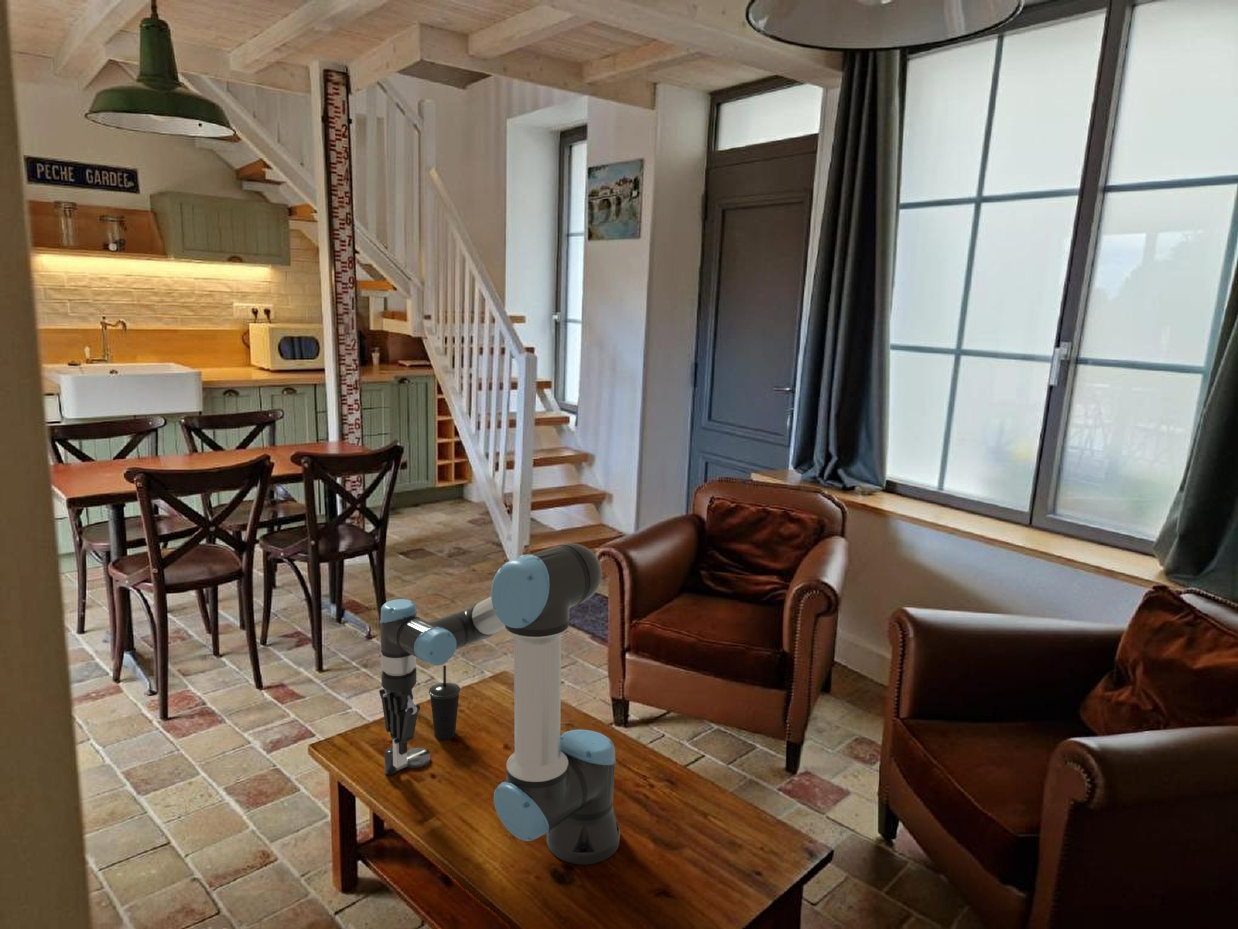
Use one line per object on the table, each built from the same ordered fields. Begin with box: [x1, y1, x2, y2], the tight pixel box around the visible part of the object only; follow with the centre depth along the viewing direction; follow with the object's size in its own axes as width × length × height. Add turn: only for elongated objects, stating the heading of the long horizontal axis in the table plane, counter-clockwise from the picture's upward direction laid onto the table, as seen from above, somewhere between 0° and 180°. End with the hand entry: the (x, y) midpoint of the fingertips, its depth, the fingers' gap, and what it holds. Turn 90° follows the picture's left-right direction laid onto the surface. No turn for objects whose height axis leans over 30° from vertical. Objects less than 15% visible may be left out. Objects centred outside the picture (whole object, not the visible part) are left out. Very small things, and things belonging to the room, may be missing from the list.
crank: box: [383, 747, 431, 776], centre depth 184 cm, size 11×6×6 cm, turn 138°
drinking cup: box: [428, 664, 461, 741], centre depth 197 cm, size 8×8×20 cm
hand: (399, 764), depth 180 cm, fingers closed
